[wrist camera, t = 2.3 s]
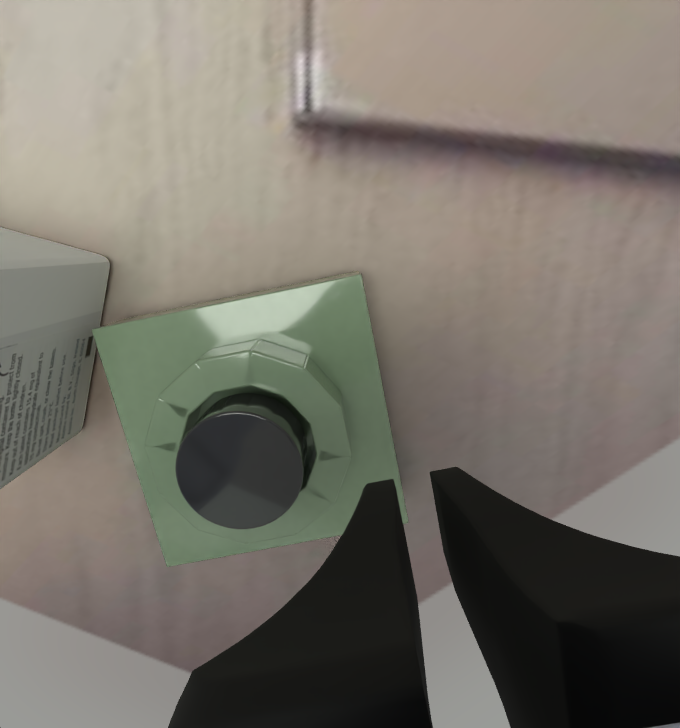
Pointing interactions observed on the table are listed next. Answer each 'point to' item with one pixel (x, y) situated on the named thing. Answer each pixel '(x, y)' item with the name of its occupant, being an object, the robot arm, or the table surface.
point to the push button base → (260, 376)
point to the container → (45, 344)
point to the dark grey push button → (242, 461)
